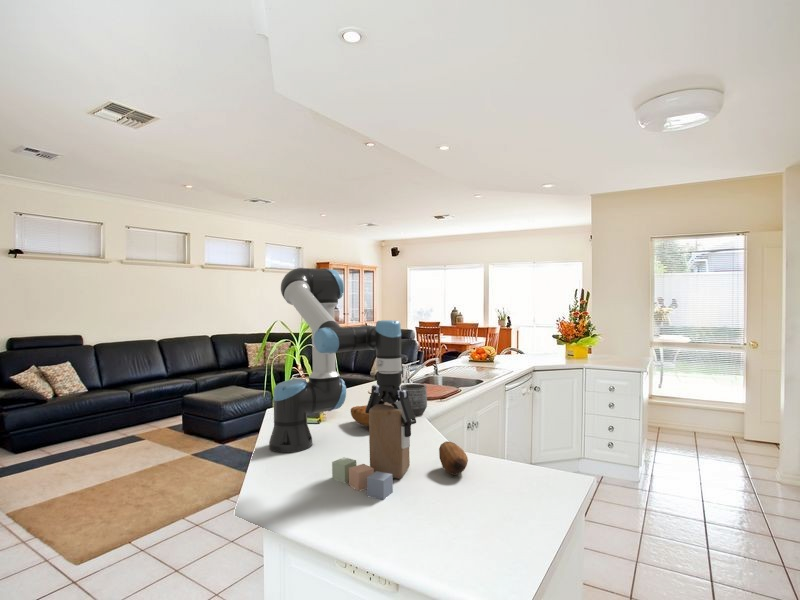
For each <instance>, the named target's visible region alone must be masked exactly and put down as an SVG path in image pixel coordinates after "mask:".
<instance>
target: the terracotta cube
mask: <svg viewBox="0 0 800 600" xmlns="http://www.w3.org/2000/svg"><path fill="white" fill-rule="evenodd" d="M373 473H374V468H372V467H370V465H368V464H365V463H362V464H356V466H354V467H350V468H349V481H348V485H350V487H351V486H352V487H351V488H353V489H354V488H355V490H357V492H359V491H360V490H361V491H363V489H364V490H367V489H366V488H367V477H369V476H370V475H372V474H373Z"/></svg>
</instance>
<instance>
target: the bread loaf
mask: <svg viewBox="0 0 800 600" xmlns="http://www.w3.org/2000/svg"><path fill="white" fill-rule="evenodd" d="M366 408H367V404H365V405H360V406H359V405H357V406H353V407H351V408H350V415H351V417H352V419H353V420H354V421H356V422H357V423H359V424H360V425H363V426H368V427H369V414H368V413H366V412H365V411H366ZM370 409H371V408H370Z"/></svg>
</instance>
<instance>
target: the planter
mask: <svg viewBox="0 0 800 600" xmlns="http://www.w3.org/2000/svg"><path fill="white" fill-rule="evenodd" d="M403 390H407V391H408V398H409V401H410V404H411V407H412V410H413V413H414V416H415V417H419V416H422V415H424V413H425V411H426V410H427V407H428V391H427V385H425V384H421V383H406V384H401V385H400V391H403Z"/></svg>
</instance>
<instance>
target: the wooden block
mask: <svg viewBox="0 0 800 600" xmlns="http://www.w3.org/2000/svg"><path fill="white" fill-rule="evenodd" d="M401 414H402V410H401V409H396V408H394V406H392V404H389V403H387V402H386V403H382V404H376V405H375V406H373V407H372V408H371V409H370V410H369V426H368V429H369V430H368V435H369V437H368V438H369V439H368V441H369V445H368V446H369V466H370V467H372V468H374V472H376V471H378V472H384V473H389V474H392V475H393V479H399V480H400V479H402V478H403V477H404V475H405V474H406V472H407V471H408V470H409V467H411V466H410V447H407V448H404V449H402V448H401V426H402V425H403V423H402V421H401ZM406 421H407V420H406Z"/></svg>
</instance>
